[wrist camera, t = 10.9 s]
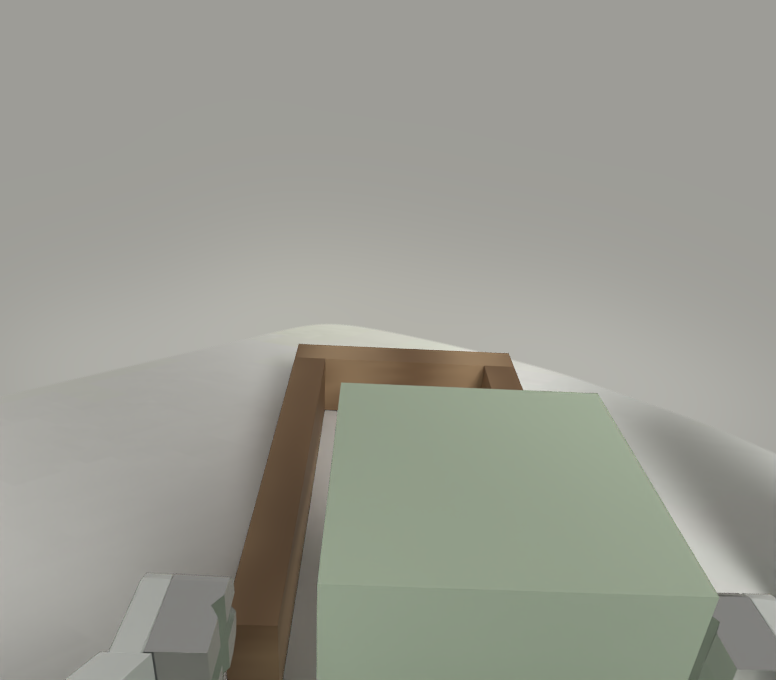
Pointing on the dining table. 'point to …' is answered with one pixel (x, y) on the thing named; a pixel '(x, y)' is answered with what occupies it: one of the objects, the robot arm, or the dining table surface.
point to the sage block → (498, 544)
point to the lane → (296, 476)
